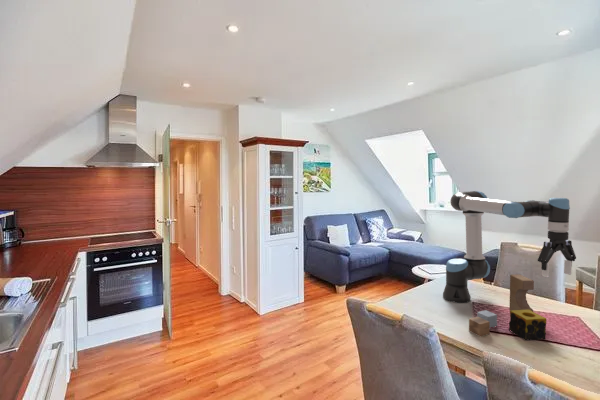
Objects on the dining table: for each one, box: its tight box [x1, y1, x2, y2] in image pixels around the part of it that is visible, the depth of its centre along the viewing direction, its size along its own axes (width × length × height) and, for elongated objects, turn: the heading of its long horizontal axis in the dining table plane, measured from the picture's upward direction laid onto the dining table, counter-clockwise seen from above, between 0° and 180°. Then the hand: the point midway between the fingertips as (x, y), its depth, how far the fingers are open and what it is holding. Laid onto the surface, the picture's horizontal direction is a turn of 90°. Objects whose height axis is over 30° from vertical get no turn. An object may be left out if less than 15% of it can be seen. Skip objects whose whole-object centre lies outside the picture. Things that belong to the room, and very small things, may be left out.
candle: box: [508, 309, 547, 341], centre depth 145 cm, size 10×10×10 cm
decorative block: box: [509, 273, 535, 312], centre depth 166 cm, size 11×6×20 cm, turn 177°
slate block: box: [476, 309, 498, 328], centre depth 156 cm, size 6×6×6 cm
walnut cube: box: [468, 316, 491, 337], centre depth 148 cm, size 6×6×6 cm
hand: (556, 275), depth 148 cm, fingers open, 13 cm apart
